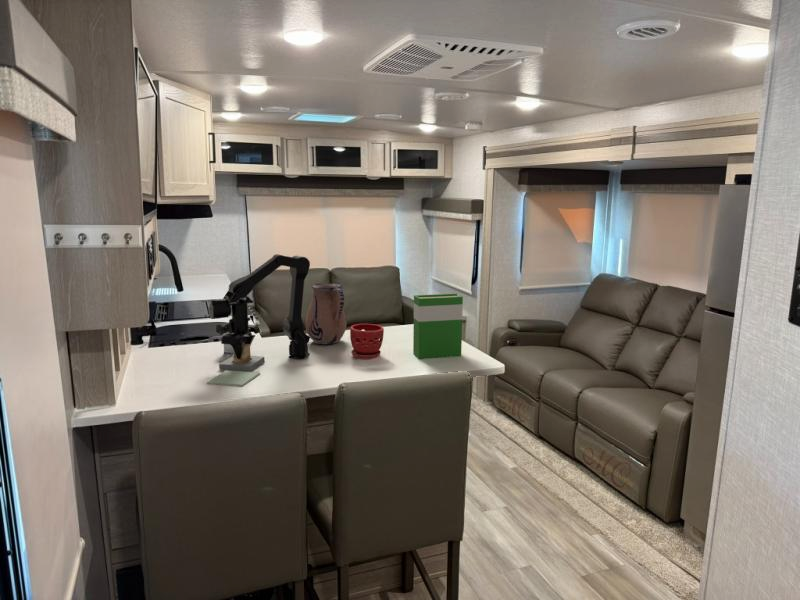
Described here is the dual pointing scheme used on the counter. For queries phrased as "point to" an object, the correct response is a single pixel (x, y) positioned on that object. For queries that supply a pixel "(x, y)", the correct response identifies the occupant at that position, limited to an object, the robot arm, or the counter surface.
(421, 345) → the hardback book
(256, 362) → the charcoal holder
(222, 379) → the rubber mat
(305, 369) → the counter surface
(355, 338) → the plant pot
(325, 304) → the ceramic pitcher
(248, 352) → the oak block
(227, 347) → the supplement box
